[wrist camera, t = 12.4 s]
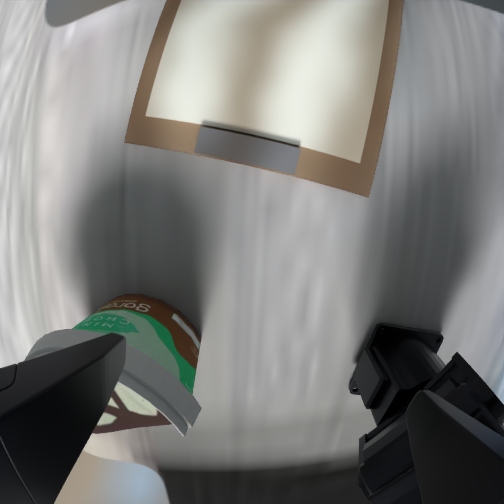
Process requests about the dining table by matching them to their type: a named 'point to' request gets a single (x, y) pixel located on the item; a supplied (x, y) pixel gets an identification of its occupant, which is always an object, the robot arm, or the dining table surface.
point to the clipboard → (272, 85)
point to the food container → (141, 362)
